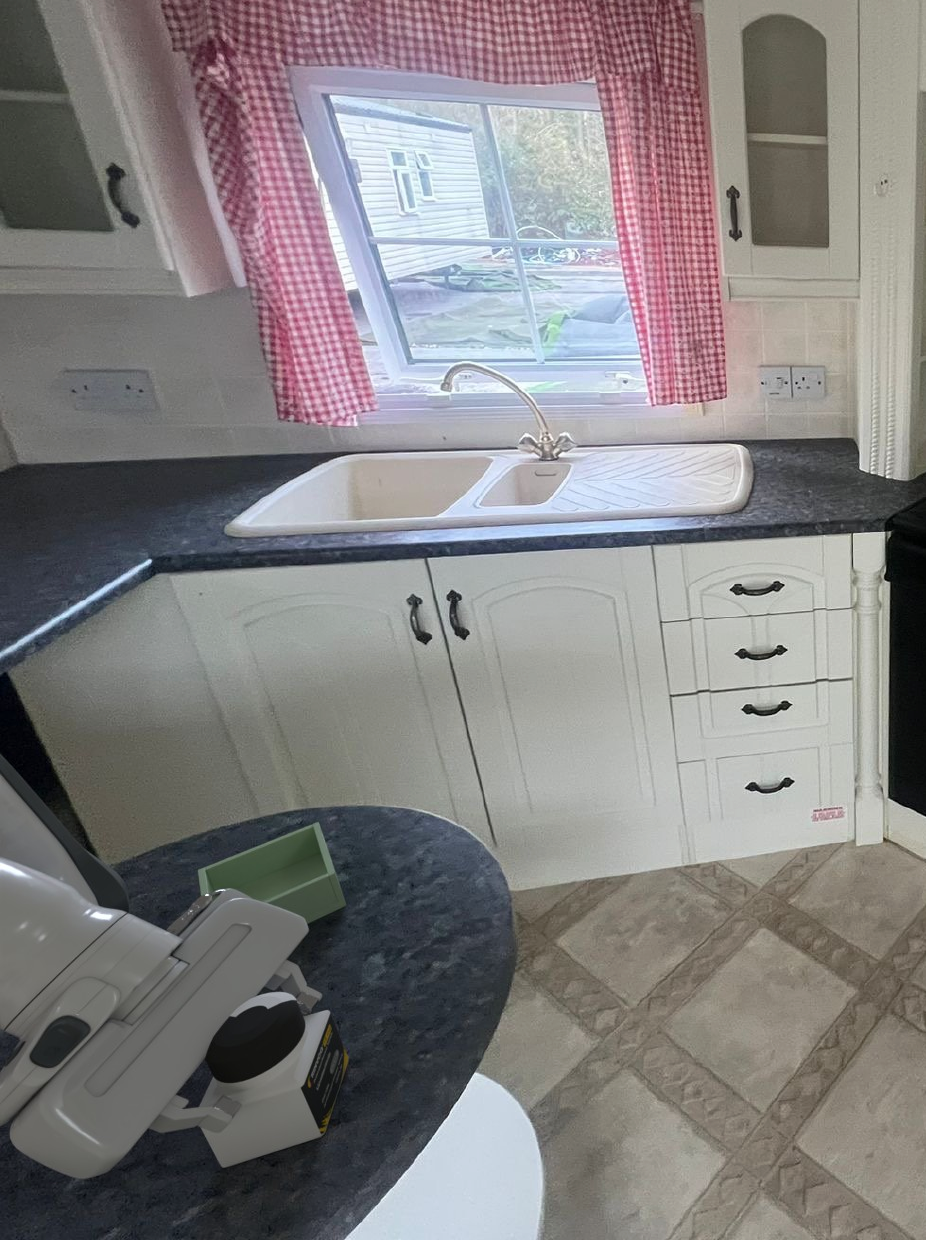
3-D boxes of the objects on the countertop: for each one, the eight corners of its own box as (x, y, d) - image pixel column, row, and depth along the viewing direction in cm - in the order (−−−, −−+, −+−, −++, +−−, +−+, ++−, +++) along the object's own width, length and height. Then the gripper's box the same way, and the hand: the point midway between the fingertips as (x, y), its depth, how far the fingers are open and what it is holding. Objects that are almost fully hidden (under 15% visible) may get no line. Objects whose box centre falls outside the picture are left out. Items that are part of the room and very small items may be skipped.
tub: (220, 964, 81) (205, 930, 80) (212, 902, 88) (197, 869, 86) (346, 905, 89) (335, 873, 87) (329, 852, 95) (318, 821, 94)
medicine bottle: (324, 1137, 67) (284, 1045, 63) (220, 1171, 65) (170, 1077, 60) (350, 1058, 73) (315, 969, 69) (256, 1086, 71) (213, 995, 66)
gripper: (197, 899, 72) (337, 968, 77) (-54, 1147, 53) (150, 1219, 58) (233, 861, 71) (373, 934, 75) (-12, 1101, 52) (194, 1179, 56)
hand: (275, 1060), depth 66 cm, fingers closed on medicine bottle, 8 cm apart
